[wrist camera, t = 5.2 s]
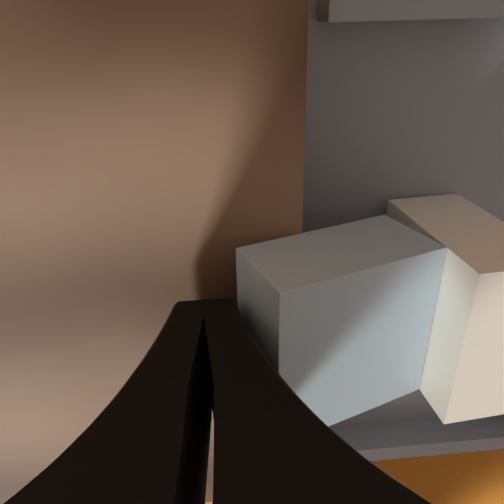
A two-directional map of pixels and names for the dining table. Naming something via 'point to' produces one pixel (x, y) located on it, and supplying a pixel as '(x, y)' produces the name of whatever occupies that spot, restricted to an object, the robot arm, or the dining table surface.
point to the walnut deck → (131, 189)
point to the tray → (404, 154)
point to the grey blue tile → (343, 311)
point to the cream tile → (462, 306)
